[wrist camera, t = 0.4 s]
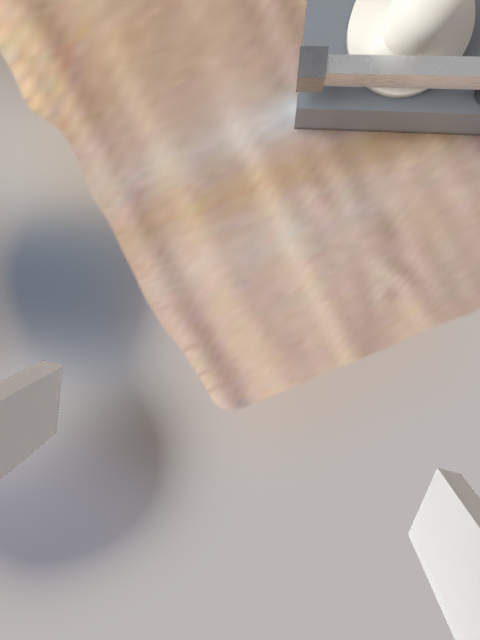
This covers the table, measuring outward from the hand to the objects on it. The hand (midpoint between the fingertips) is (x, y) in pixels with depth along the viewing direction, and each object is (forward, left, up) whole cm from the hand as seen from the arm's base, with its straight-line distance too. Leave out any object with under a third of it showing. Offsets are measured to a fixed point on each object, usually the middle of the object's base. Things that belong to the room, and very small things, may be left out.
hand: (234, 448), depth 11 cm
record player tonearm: (-20, +9, -22) cm, 31 cm away
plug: (-24, +9, -27) cm, 37 cm away
